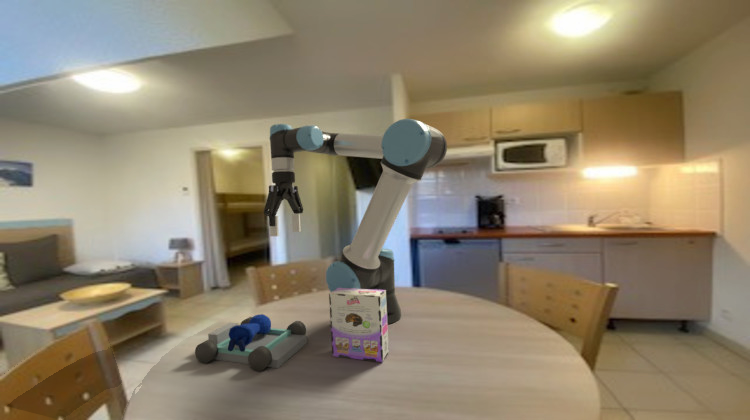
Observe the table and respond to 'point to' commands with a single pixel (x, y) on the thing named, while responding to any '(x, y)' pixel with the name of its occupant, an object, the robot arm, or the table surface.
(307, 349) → the table surface
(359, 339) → the candy box
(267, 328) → the toy
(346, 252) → the robot arm
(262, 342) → the chassis
